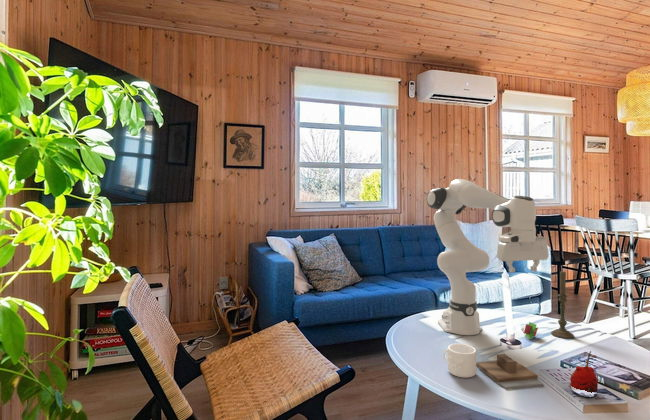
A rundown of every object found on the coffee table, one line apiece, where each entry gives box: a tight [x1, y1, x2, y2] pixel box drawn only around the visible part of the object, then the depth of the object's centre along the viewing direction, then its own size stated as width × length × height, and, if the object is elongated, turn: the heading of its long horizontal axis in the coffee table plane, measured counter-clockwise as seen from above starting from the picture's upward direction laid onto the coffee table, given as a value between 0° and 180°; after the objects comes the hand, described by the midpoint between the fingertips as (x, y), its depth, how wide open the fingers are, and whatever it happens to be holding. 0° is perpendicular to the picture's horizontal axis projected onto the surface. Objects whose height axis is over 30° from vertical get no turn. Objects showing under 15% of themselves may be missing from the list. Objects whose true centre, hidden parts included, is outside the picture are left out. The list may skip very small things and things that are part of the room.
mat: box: [476, 359, 545, 390], centre depth 137 cm, size 20×14×1 cm
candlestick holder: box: [550, 270, 575, 340], centre depth 175 cm, size 9×9×30 cm
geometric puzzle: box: [520, 321, 540, 340], centre depth 173 cm, size 7×7×8 cm
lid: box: [476, 353, 539, 383], centre depth 137 cm, size 13×15×5 cm
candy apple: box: [569, 350, 599, 393], centre depth 123 cm, size 8×7×15 cm
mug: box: [443, 343, 477, 379], centre depth 139 cm, size 12×10×9 cm
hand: (522, 271), depth 152 cm, fingers open, 8 cm apart
